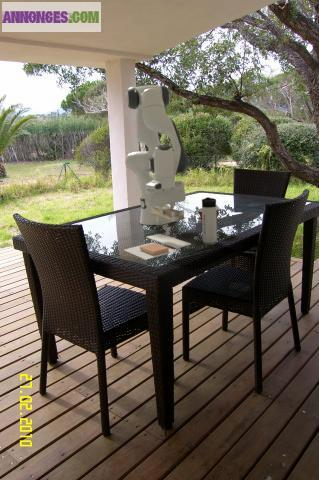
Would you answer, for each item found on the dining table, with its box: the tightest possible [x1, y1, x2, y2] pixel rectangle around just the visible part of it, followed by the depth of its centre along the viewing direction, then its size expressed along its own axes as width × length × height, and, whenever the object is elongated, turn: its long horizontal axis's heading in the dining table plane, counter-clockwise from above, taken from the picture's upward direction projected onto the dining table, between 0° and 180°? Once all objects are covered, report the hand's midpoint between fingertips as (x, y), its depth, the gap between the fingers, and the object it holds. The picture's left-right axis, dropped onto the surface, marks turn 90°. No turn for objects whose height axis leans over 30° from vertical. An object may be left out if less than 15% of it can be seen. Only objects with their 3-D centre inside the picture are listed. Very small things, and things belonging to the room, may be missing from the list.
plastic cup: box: [197, 206, 221, 224], centre depth 193 cm, size 11×11×12 cm
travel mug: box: [201, 196, 218, 246], centre depth 175 cm, size 6×7×20 cm
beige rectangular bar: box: [151, 206, 185, 223], centre depth 178 cm, size 6×19×4 cm, turn 35°
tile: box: [140, 242, 170, 255], centre depth 168 cm, size 8×2×10 cm
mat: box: [123, 241, 177, 260], centre depth 169 cm, size 16×18×1 cm
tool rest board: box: [145, 233, 192, 249], centre depth 181 cm, size 8×24×1 cm, turn 35°
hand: (166, 214), depth 178 cm, fingers closed on beige rectangular bar, 3 cm apart
